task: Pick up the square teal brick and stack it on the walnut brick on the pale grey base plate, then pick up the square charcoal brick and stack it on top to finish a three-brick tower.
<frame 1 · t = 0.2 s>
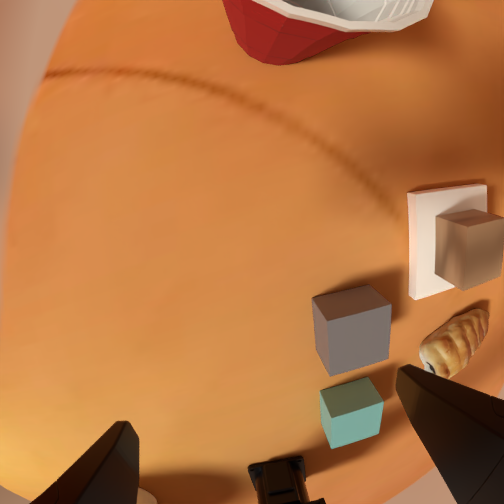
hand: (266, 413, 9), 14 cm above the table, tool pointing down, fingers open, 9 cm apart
base plate: (447, 237, 24), on the table
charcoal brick: (342, 317, 25), on the table
teal brick: (343, 400, 28), on the table
plastic cup: (275, 30, 18), on the table
walnut brick: (455, 240, 22), point 1 cm above the table, touching base plate
reusable coffee cup: (126, 494, 30), on the table
pastry: (445, 338, 27), on the table
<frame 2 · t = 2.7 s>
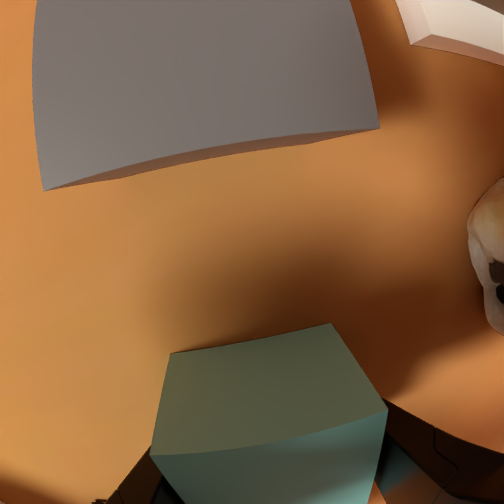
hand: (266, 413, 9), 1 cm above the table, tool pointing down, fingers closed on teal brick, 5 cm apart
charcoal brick: (198, 69, 7), on the table
teal brick: (263, 398, 10), on the table, touching gripper
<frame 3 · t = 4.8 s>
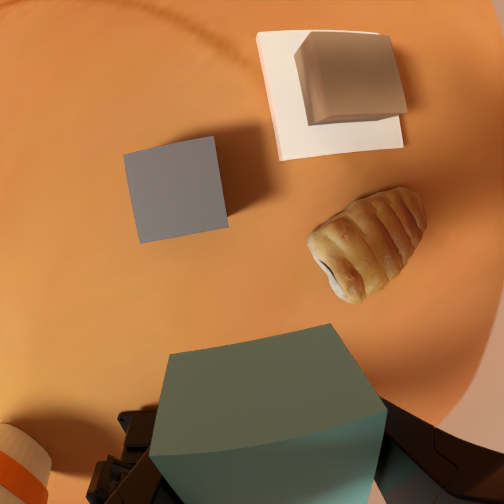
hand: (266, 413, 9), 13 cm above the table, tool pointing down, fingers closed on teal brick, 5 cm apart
base plate: (330, 91, 19), on the table
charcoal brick: (183, 186, 20), on the table
teal brick: (262, 399, 10), point 12 cm above the table, touching gripper
walnut brick: (336, 87, 18), point 1 cm above the table, touching base plate
reusable coffee cup: (23, 446, 25), on the table
pastry: (359, 238, 22), on the table
when the fingers open (7 cm above the table, at t = 7.1 s): teal brick stays where it is, resting on walnut brick.
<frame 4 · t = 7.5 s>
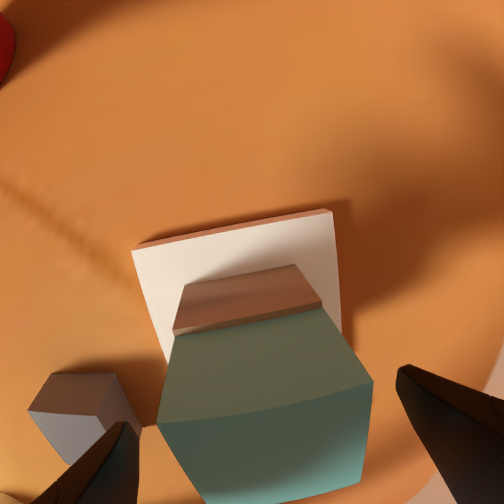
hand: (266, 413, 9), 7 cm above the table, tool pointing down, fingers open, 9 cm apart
base plate: (247, 312, 15), on the table
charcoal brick: (96, 401, 17), on the table
teal brick: (261, 380, 11), point 5 cm above the table, touching walnut brick
walnut brick: (249, 323, 14), point 1 cm above the table, touching base plate, teal brick
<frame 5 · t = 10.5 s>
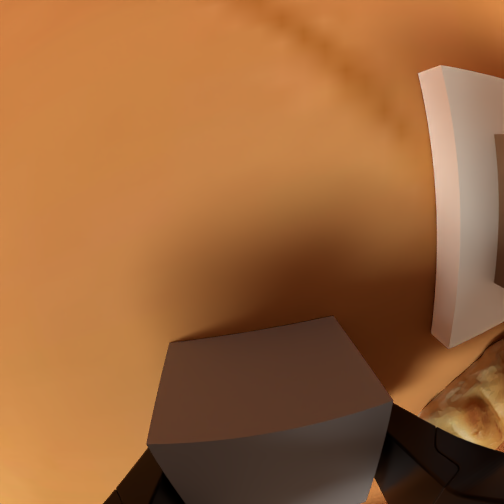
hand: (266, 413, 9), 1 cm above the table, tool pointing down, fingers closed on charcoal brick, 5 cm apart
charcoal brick: (262, 392, 10), on the table, touching gripper
pastry: (473, 385, 12), on the table
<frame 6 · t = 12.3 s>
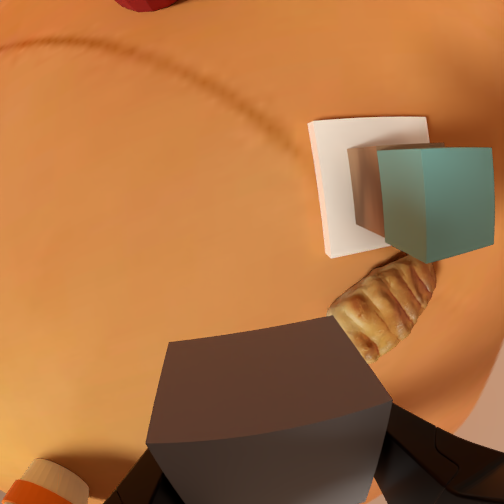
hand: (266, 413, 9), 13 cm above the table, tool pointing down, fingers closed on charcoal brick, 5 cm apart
base plate: (376, 181, 20), on the table
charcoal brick: (261, 392, 10), point 12 cm above the table, touching gripper
teal brick: (418, 192, 15), point 5 cm above the table, touching walnut brick
walnut brick: (384, 182, 19), point 1 cm above the table, touching base plate, teal brick
reusable coffee cup: (60, 477, 27), on the table
pastry: (374, 300, 23), on the table
when the fingers open (11 cm above the table, at t = 13.8 s): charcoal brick stays where it is, resting on teal brick.
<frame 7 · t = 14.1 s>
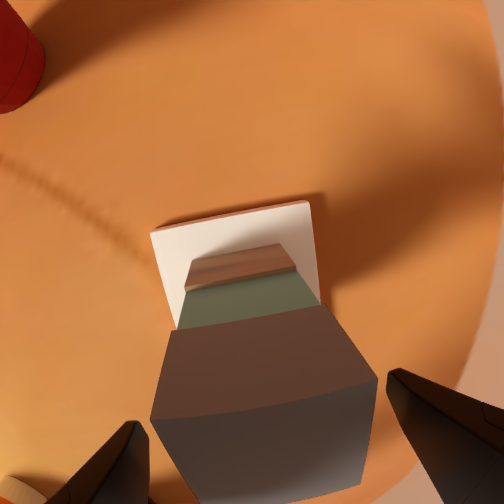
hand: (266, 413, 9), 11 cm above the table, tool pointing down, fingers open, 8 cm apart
base plate: (242, 284, 19), on the table
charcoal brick: (259, 378, 10), point 9 cm above the table, touching teal brick
teal brick: (251, 330, 14), point 5 cm above the table, touching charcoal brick, walnut brick
plastic cup: (17, 72, 14), on the table
walnut brick: (243, 292, 18), point 1 cm above the table, touching base plate, teal brick
reusable coffee cup: (27, 491, 26), on the table
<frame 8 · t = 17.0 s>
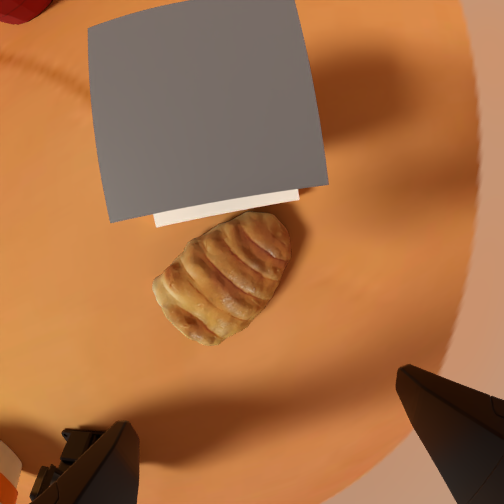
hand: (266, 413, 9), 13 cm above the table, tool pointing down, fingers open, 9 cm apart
base plate: (214, 141, 19), on the table
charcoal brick: (207, 118, 10), point 9 cm above the table, touching teal brick
pastry: (219, 272, 21), on the table
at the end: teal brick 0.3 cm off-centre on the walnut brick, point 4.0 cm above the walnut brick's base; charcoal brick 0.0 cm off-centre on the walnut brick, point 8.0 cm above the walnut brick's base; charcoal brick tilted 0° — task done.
